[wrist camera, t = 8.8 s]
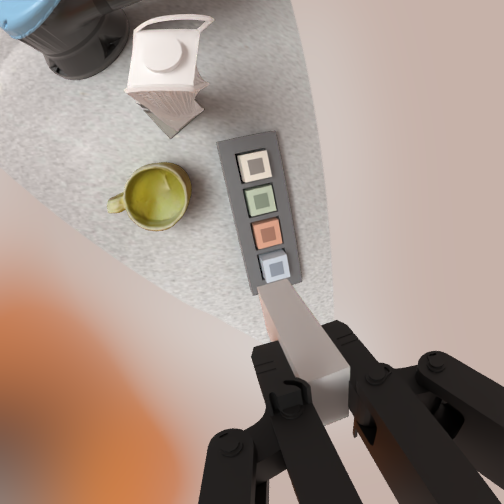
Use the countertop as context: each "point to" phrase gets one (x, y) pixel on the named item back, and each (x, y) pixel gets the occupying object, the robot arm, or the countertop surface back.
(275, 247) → the keyguard frame
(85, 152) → the countertop surface
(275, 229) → the key terracotta
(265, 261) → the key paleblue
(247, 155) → the key ivory
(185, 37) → the skyscraper
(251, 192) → the key sage
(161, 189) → the mug
